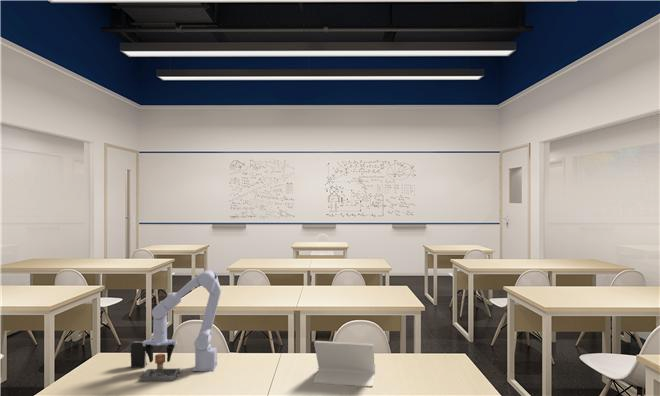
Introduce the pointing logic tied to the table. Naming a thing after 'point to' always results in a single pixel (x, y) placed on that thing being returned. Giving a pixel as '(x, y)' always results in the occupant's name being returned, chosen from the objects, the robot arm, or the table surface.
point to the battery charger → (138, 354)
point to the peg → (159, 360)
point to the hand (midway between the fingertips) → (160, 361)
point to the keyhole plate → (160, 375)
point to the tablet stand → (345, 363)
